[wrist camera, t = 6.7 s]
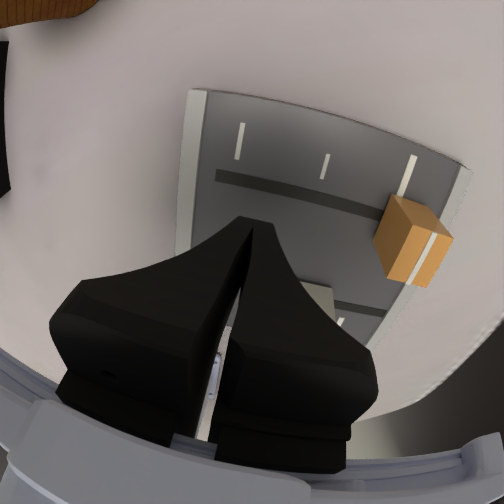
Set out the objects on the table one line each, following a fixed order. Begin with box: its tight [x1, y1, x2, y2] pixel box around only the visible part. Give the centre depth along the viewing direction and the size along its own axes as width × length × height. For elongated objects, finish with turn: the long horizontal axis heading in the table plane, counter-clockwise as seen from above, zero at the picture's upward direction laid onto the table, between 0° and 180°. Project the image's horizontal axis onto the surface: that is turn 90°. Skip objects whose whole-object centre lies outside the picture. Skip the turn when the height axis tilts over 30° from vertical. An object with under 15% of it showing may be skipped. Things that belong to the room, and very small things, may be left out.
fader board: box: [175, 88, 473, 354], centre depth 17 cm, size 16×16×2 cm
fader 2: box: [373, 194, 454, 288], centre depth 13 cm, size 3×2×4 cm
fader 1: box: [300, 281, 336, 322], centre depth 17 cm, size 3×2×4 cm
